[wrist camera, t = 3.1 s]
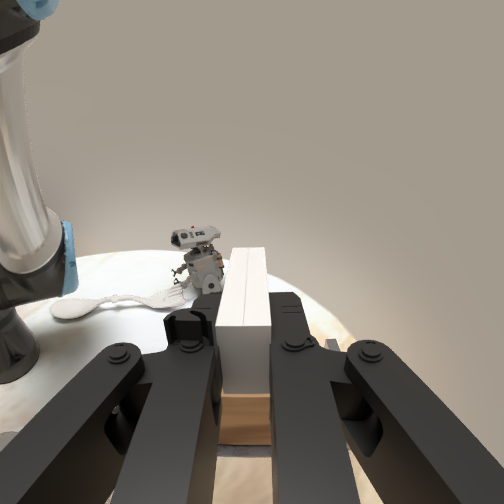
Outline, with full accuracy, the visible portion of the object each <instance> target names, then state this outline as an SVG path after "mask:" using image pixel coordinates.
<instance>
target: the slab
mask: <svg viewBox="0 0 504 504" xmlns="http://www.w3.org/2000/svg"><path fill="white" fill-rule="evenodd" d="M221 399H222V406H223V407H222V415H221V424H220V433H219V442H218V444H230V445H271V430H270V420H269V409H270V394H223V387H222V392H221Z"/></svg>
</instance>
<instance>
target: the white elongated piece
mask: <svg viewBox="0 0 504 504" xmlns="http://www.w3.org/2000/svg"><path fill="white" fill-rule="evenodd" d="M182 289H183V288H182V287H181V284H176V285H174V286H172V287H171V288H169V289H167V290H165V291H162V292H160V293H157V294H156V295H154V296H152V297H149V298H143V297H138V296H133V295H121V296H118V295H113V296H111V297H106V298H102V299H99V300H94V299H65V300H59V301H57V302H55V303H53V304H52V305H51V307H50V314H51V315H53V316H54V317H57V318H60V319H73V318H77V317H80V316H83V315H85V314H87V313H88V312H90V311H91V310H93V309H94V308H96V307H97V306H99V305H101V304H103V303H106V302H112V303H116V302H118V301H125V300H131V301H136V302H139V303H142V304H145V305H147V306H149V307H152V308H166V307H174V306H180V305H183V304H185V303H186V300H184V299H183V298H184V297H181V296H182V294H180V293H182V292H183V290H182ZM178 294H179V295H178Z"/></svg>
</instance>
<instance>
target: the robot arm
mask: <svg viewBox="0 0 504 504" xmlns="http://www.w3.org/2000/svg"><path fill="white" fill-rule="evenodd" d="M58 2H59V0H0V384H1V383H7V382H10V381H13V380H15V379H17V378H19V377H21V376H22V375H24V374H25V373H26V372H27V371H29V370H30V369H31V367H32V366H33V365H34V364H35V362H36V360H37V358H38V356H39V345H38V343H37V341H36V338H35V336H34V335H33V333H32V332H31V331H30V330H29V328H28V327H27V326H26V324H25V323H24V322H23V321H22V319H21V318H20V317H19V315H18V314H17V312H16V309H15V307H16V306H19V305H24V304H28V303H32V302H37V301H41V300H45V299H50V298H54V297H62V296H63V295H66V294H70V293H73V292H75V291H76V290H77V288H78V284H79V283H78V274H77V267H76V259H75V249H74V240H73V231H72V225H71V223H70V222H65V221H61V222H60V220H59V218H58V216H57V215H56V214H55V213H54V212H53V211H52V210H51V209H49V208H47V207H46V206H45V202H44V199H43V195H42V191H41V187H40V183H39V179H38V175H37V170H36V165H35V161H34V156H33V150H32V145H31V139H30V133H29V127H28V118H27V110H26V99H25V85H24V53H25V51H26V50H27V49H28V47H29V46H30V45H31V44H32V43H33V42H34V40H35V39H36V38H37V37H38V35H39V29H40V20H44V19H45V18H47V17H48V16H51V15H52V14H53V13H54V12H55V10H56V8H57V6H58ZM163 321H164V326H165V331H166V336H167V340H168V346H167V349H166V350H164V351H161V352H157V353H150V354H143V355H142V354H141V351H140V349H139V348H138V347H137V346H136V345H134V344H132V343H125V342H123V343H115V344H113V345H110V346H108V347H106V348H105V349H103V350H102V351H101V352H100V353H99V354H98V355H97V356H96V357H95V358H94V359H92V360H91V361H90V362H89V363H88V364H87V365H86V366H85V367H84V368H83V369H82V370H81V371H80V372H79V373H78V374H77V375H76V376H75V377H74V378H73V379H72V380H71V381H70V382H69V383H68V384H67V385H66V386H65V387H64V388H63V389H61V390H60V391H59V392H58V393H57V394H56V395H55V396H54V397H53V398H52V399H51V400H50V401H49V402H48V403H47V404H46V405H45V406H44V407H43V408H42V409H41V410H40V411H39V412H38V413H37V414H36V415H35V416H34V417H33V418H32V420H31V421H30V422H29V423H28V424H27V425H26V426H25V427H24V428H23V429H22V430H21V431H20V432H19V433H18V434H17V435H16V436H15V437H14V438H13V439H12V440H11V441H10V442H9V443H8V444H7V445H6V446H5V448H4V449H3V450H2V451H1V452H0V504H105V502H106V501H107V499H108V498H109V496H110V495H111V493H112V492H113V490H114V489H115V490H114V493H113V496H112V499H111V502H110V504H212V499H213V489H214V480H215V470H216V461H217V452H218V442H219V433H220V424H221V415H222V407H223V406H222V399H221V392H222V387H223V394H270V409H269V420H270V430H271V457H272V486H273V504H360V499H359V495H358V490H357V486H356V482H355V477H354V473H353V469H352V465H351V461H350V457H349V453H348V448H347V444H348V445H349V447H350V449H351V450H352V452H353V454H354V455H355V457H356V459H357V460H358V462H359V464H360V465H361V467H362V469H363V470H364V472H365V474H366V475H367V477H368V479H369V480H370V482H371V484H372V485H373V487H374V488H375V490H376V492H377V493H378V495H379V497H380V498H381V500H382V502H383V503H384V504H504V468H503V467H502V466H501V465H500V464H499V462H498V461H497V460H496V459H495V458H494V457H493V456H492V455H491V453H490V452H489V451H487V449H486V448H485V447H484V446H483V445H482V444H481V443H480V441H479V440H478V439H477V438H476V437H475V436H474V435H473V434H472V433H471V432H470V431H469V429H468V428H467V427H466V426H465V425H464V424H463V423H462V422H461V421H460V420H459V419H458V418H457V417H456V416H455V414H454V413H453V412H452V411H451V410H450V409H449V408H448V407H447V406H446V405H445V404H444V403H443V402H442V401H441V400H440V399H439V398H438V397H437V396H436V395H435V394H434V393H433V391H432V390H430V388H429V387H428V386H427V385H426V384H425V383H424V382H423V381H422V380H421V379H420V378H419V377H418V376H417V375H416V374H415V373H414V372H413V371H412V370H411V369H410V368H409V367H408V366H407V365H406V364H405V363H404V362H403V361H402V360H401V359H400V358H399V357H398V356H397V355H396V354H395V353H394V352H393V351H392V350H391V349H390V348H389V347H388V346H386V345H385V344H383V343H381V342H378V341H374V340H362V341H357V342H355V343H353V344H351V346H350V347H349V348H348V350H347V352H340V351H333V350H329V349H326V348H323V347H321V346H319V343H318V341H317V340H316V338H315V337H313V336H312V335H310V331H309V327H308V324H307V320H306V317H305V313H304V310H303V307H302V303H301V299H300V298H299V297H298V296H297V295H296V294H295V293H294V292H272V293H269V292H268V281H267V270H266V260H265V248H264V247H260V248H233V249H232V254H231V258H230V262H229V267H228V271H227V275H226V280H225V284H224V289H223V293H222V294H201V295H200V296H199V297H198V298H197V299H195V300H194V302H193V305H192V307H191V308H186V309H180V310H177V311H174V312H172V313H170V314H168V315H167V316H166V317H165V318H164V319H163ZM116 406H117V407H116ZM115 407H116V408H115ZM345 440H346V441H345ZM346 442H347V444H346Z"/></svg>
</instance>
